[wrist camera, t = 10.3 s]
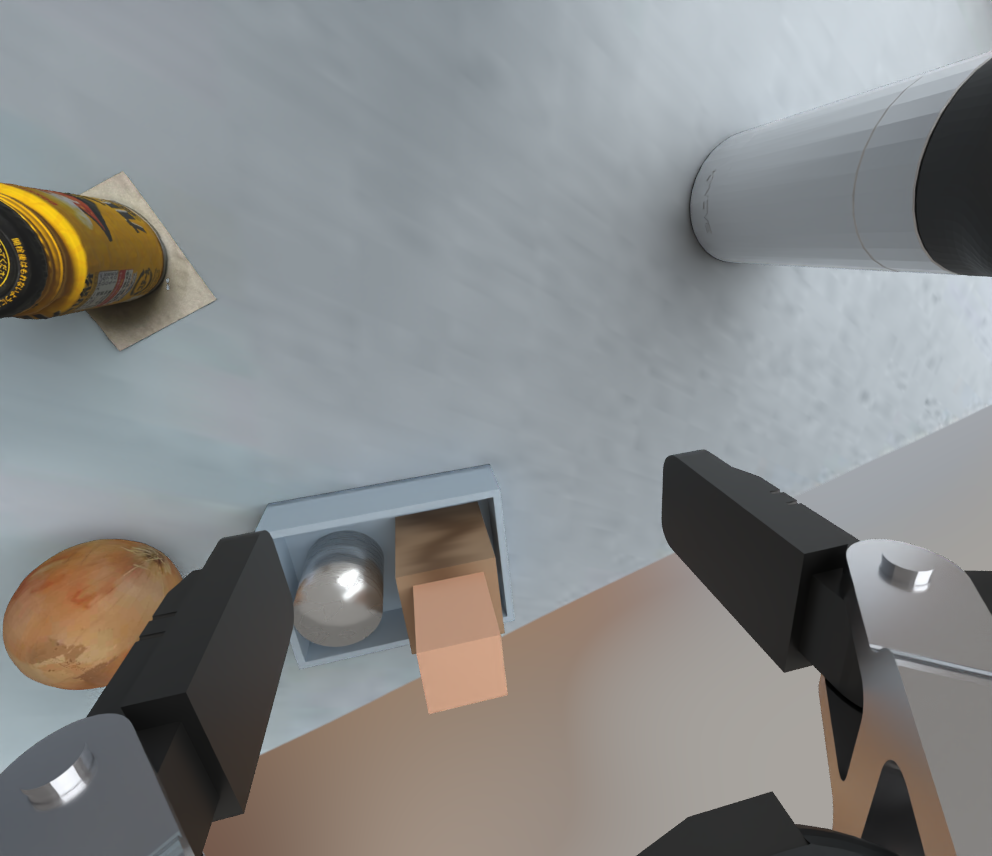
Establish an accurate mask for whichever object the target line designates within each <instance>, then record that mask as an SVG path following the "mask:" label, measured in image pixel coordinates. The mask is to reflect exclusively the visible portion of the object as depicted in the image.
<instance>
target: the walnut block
mask: <svg viewBox="0 0 992 856" xmlns="http://www.w3.org/2000/svg"><path fill="white" fill-rule="evenodd" d="M479 572H484V575H485V579H486V582H487V586H488V590H489V593H490V597H491V601H492V604H493V608H494V612H495V615H496V619H497V623H498V627H499V630H500V634H503V633H505V632H504V624H503V615H502V607H501V599H500V591H499V583H498V575H497V567H496V558H495V555H494V551H493V548H492V545H491V542H490V539H489V536H488V533H487V530H486V526H485V523H484V520H483V517H482V514H481V511H480V508H479V505H478V502H472V503H467V504H461V505H456V506H451V507H445V508H440V509H435V510H430V511H424V512H419V513H414V514H408V515H403V516H398V517H395V579H396V583H397V588H398V592H399V597H400V601H401V606H402V610H403V615H404V619H405V624H406V628H407V633H408V637H409V642H410V646H411V651H412V654H416V635H415V616H414V597H413V586H415V585H420V584H425V583H430V582H435V581H440V580H445V579H450V578H455V577H459V576H464V575H469V574H474V573H479Z"/></svg>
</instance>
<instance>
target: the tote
mask: <svg viewBox="0 0 992 856" xmlns="http://www.w3.org/2000/svg"><path fill="white" fill-rule="evenodd" d="M472 502H478V505H479V508H480V511H481V514H482V517H483V520H484V523H485V526H486V530H487V533H488V536H489V539H490V542H491V545H492V548H493V551H494V555H495V558H496V567H497V575H498V583H499V591H500V599H501V607H502V615H503V623H506V622H510V621H514V620H515V617H514V608H513V599H512V590H511V581H510V572H509V563H508V554H507V545H506V536H505V527H504V518H503V509H502V500H501V491H500V487H499V485H498V482H497V480H496V478H495V475H494V473H493V471H492V468H491V466H490V464H488V465H482V466H476V467H471V468H465V469H460V470H454V471H448V472H443V473H437V474H432V475H426V476H420V477H415V478H409V479H404V480H398V481H392V482H387V483H381V484H376V485H370V486H364V487H359V488H353V489H348V490H342V491H337V492H331V493H325V494H320V495H314V496H309V497H303V498H297V499H292V500H286V501H281V502H275V503H269V504H268V505H267V508H266V510H265V512H264V514H263V516H262V518H261V520H260V522H259V524H258V526H257V528H256V530H255V532H257V531H262V530H266V531H268V532H269V533H270V535H271V536H272V538H273V541H274V544H275V547H276V550H277V553H278V556H279V559H280V562H281V565H282V568H283V571H284V574H285V577H286V580H287V584H288V587H289V590H290V593H291V596H292V600H293V603H294V600H295V596H296V593H297V589H298V586H299V582H300V578H301V575H302V571H303V568H304V564H305V561H306V557H307V554H308V552H309V550H310V548H311V547H312V545H313V544H314V543H315V542H316V541H317V540H318V539H320V538H321V537H323V536H325V535H327V534H329V533H332V532H336V531H343V530H349V531H357V532H360V533H363V534H366V535H368V536H369V537H371V538H372V539H374V540H375V541H376V542H377V543H378V544H379V546H380V547H381V549H382V551H383V554H384V589H383V614H382V618H381V621H380V623H379V625H378V626H377V628H376V629H375V630H374V631H373V632H372V633H371V634H370V635H369V636H368V637H366V638H365V639H363V640H361V641H359V642H357V643H354V644H351V645H347V646H341V647H329V646H322V645H318V644H316V643H313V642H311V641H309V640H307V639H306V638H304V637H303V636H302V635H301V634H300V633H299V632H298V631H297V629H296V628H295V626H294V625H293V630H292V634H291V638H290V643H291V646H292V649H293V652H294V655H295V658H296V661H297V664H298V667H299V669H304V668H308V667H313V666H317V665H321V664H326V663H330V662H335V661H339V660H343V659H348V658H352V657H357V656H361V655H365V654H370V653H374V652H378V651H383V650H387V649H392V648H396V647H400V646H405V645H409V644H410V642H409V637H408V633H407V628H406V624H405V619H404V615H403V610H402V606H401V601H400V597H399V592H398V588H397V583H396V579H395V517H398V516H403V515H408V514H414V513H419V512H424V511H430V510H435V509H440V508H445V507H451V506H456V505H461V504H467V503H472Z"/></svg>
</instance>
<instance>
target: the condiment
mask: <svg viewBox="0 0 992 856" xmlns="http://www.w3.org/2000/svg"><path fill="white" fill-rule="evenodd" d="M167 278H169V283H167V282H166V279H167ZM167 284H168V285H169V287H170V289H169V290H167V289H166V286H167ZM215 300H216V298H215V297H214V295H213V294H212V292H211V291H210V290H209V289H208V287H207V286H206V284H205V283H204V281H203V280H202V279H201V277H200V276H199V275H198V274H197V272H196V271H195V269H194V268H193V267H192V265H191V264H190V262H189V261H188V260H187V258H186V257H185V256H184V254H183V253H182V251H181V250H180V249H179V247H178V246H177V244H176V243H175V241H174V240H173V238H172V237H171V236H170V234H169V233H168V231H167V230H166V228H165V227H164V226H163V225H162V223H161V222H160V221H159V219H158V218H157V216H156V215H155V213H154V212H153V211H152V209H151V208H150V207H149V205H148V204H147V202H146V201H145V200H144V198H143V197H142V196H141V195H140V193H139V192H138V190H137V189H136V187H135V186H134V185H133V183H132V182H131V181H130V179H129V178H128V177H127V176H126V174H125V173H124V172H123V171H122V172H120V173H119V174H117V175H115V176H113V177H111V178H109V179H107V180H105V181H104V182H102V183H100V184H98V185H97V186H95V187H93V188H91V189H90V190H88V191H86V192H84V193H82V194H80V195H76V194H70V193H61V192H55V191H49V190H41V189H35V188H29V187H23V186H18V185H14V184H5V183H0V318H4V317H16V318H22V319H48V318H51V317H56V316H62V315H65V314H70V313H75V312H80V311H84V310H86V311H87V312H88V314H89V315H90V316H91V318H92V319H93V320H94V321H95V322H96V323H97V324H98V325H99V327H100V328H101V329H102V330H103V332H104V333H105V334H106V336H107V337H108V338H109V340H110V341H111V342H112V343H113V344H114V345H115V346H116V347H117V349H118V350H119V351H121V350H123V349H125V348H127V347H129V346H130V345H132V344H134V343H136V342H138V341H140V340H142V339H144V338H146V337H148V336H149V335H151V334H153V333H155V332H157V331H159V330H161V329H162V328H164V327H166V326H168V325H170V324H172V323H174V322H176V321H177V320H180V319H181V318H183V317H185V316H186V315H189V314H190V313H192V312H194V311H196V310H198V309H200V308H202V307H204V306H205V305H207V304H209V303H211V302H213V301H215Z"/></svg>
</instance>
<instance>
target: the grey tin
mask: <svg viewBox="0 0 992 856" xmlns="http://www.w3.org/2000/svg"><path fill="white" fill-rule="evenodd" d="M383 589H384V554H383V551H382V549H381V547H380V546H379V544H378V543H377V542H376V541H375V540H374V539H372V538H371V537H369V536H368V535H366V534H363V533H360V532H357V531H349V530H343V531H336V532H332V533H329V534H327V535H325V536H323V537H321V538H320V539H318V540H317V541H316V542H315V543H314V544H313V545H312V547H311V548H310V550H309V552H308V554H307V557H306V561H305V564H304V568H303V571H302V575H301V578H300V582H299V586H298V589H297V593H296V596H295V600H294V603H293V607H294V626H295V628H296V629H297V631H298V632H299V633H300V634H301V635H302V636H303V637H304V638H306V639H307V640H309V641H311V642H313V643H316V644H318V645H322V646H329V647H341V646H347V645H351V644H354V643H357V642H359V641H361V640H363V639H365V638H366V637H368V636H369V635H370V634H371V633H372V632H373V631H374V630H375V629H376V628H377V626H378V625H379V623H380V621H381V618H382V614H383Z"/></svg>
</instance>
